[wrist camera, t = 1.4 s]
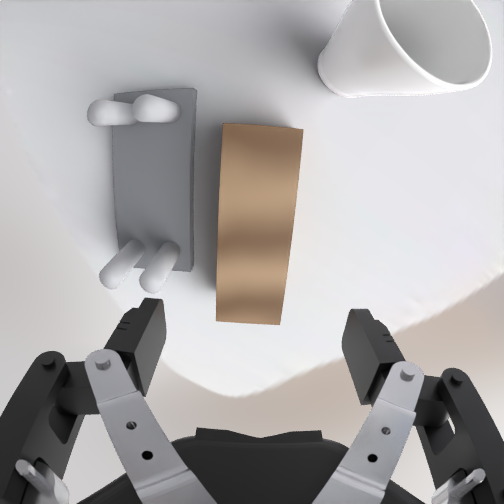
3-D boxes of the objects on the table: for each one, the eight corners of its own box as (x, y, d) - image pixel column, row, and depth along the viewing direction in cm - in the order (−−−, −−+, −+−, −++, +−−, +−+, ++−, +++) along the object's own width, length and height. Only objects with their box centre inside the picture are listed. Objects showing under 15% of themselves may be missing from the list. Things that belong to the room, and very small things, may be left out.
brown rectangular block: (228, 124, 24) (223, 123, 19) (293, 129, 24) (303, 129, 19) (221, 291, 30) (215, 321, 25) (276, 295, 30) (279, 324, 26)
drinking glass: (291, 64, 21) (336, -10, 8) (344, 23, 19) (425, -55, 6) (345, 121, 23) (446, 121, 9) (394, 79, 21) (511, 55, 8)
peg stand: (121, 95, 22) (78, 87, 15) (196, 90, 22) (174, 75, 15) (126, 260, 28) (94, 299, 21) (193, 264, 28) (176, 308, 22)
